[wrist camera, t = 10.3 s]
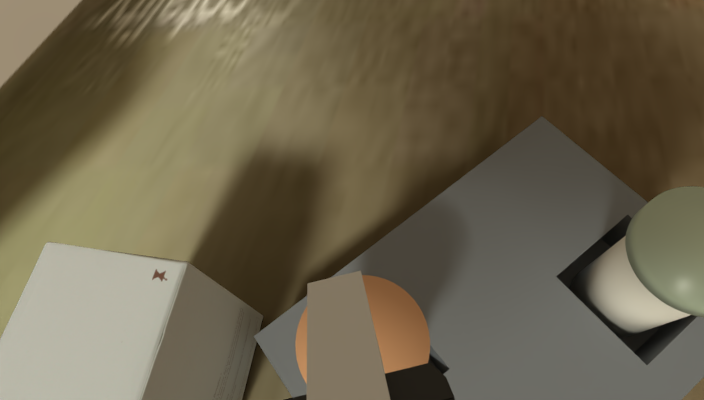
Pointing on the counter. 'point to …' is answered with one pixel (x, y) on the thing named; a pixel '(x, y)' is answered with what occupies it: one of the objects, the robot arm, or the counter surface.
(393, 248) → the console
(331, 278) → the robot arm
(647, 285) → the green capped cylinder
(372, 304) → the orange capped cylinder
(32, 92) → the counter surface
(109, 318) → the supplement box
